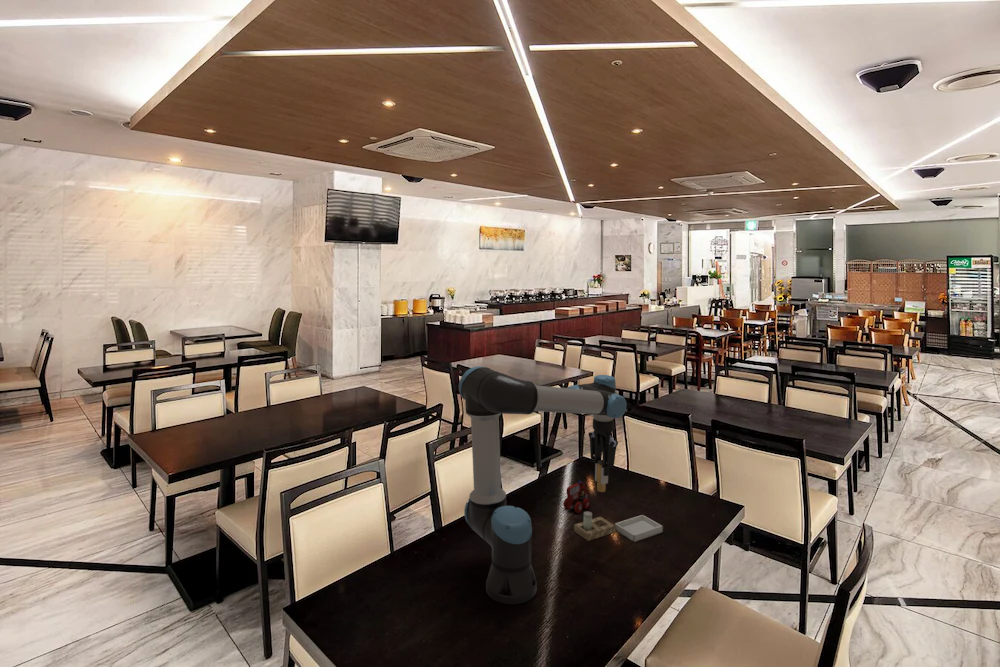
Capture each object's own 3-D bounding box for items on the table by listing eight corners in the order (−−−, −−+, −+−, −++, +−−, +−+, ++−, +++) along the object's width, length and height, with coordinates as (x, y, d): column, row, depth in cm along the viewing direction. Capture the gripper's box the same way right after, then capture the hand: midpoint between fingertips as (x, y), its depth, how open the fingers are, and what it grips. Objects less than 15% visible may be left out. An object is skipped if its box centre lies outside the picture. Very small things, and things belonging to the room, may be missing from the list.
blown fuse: (600, 492, 185) (601, 463, 184) (595, 489, 188) (596, 460, 186) (607, 491, 187) (608, 461, 185) (601, 487, 189) (602, 459, 188)
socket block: (588, 541, 181) (588, 534, 181) (573, 531, 188) (574, 524, 188) (615, 532, 188) (615, 525, 187) (600, 522, 194) (600, 516, 194)
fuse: (586, 536, 184) (587, 516, 183) (581, 533, 187) (582, 512, 186) (593, 534, 186) (594, 514, 185) (588, 531, 188) (588, 510, 187)
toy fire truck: (593, 506, 208) (594, 481, 207) (574, 516, 200) (575, 490, 198) (579, 500, 213) (579, 476, 212) (560, 510, 205) (561, 485, 203)
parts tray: (634, 542, 181) (634, 535, 180) (614, 529, 189) (614, 523, 189) (662, 532, 188) (662, 525, 187) (642, 520, 196) (642, 514, 196)
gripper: (626, 422, 179) (624, 487, 182) (597, 412, 193) (595, 472, 195) (610, 425, 175) (607, 492, 178) (581, 414, 189) (579, 476, 192)
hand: (601, 481), depth 187 cm, fingers closed on blown fuse, 2 cm apart
